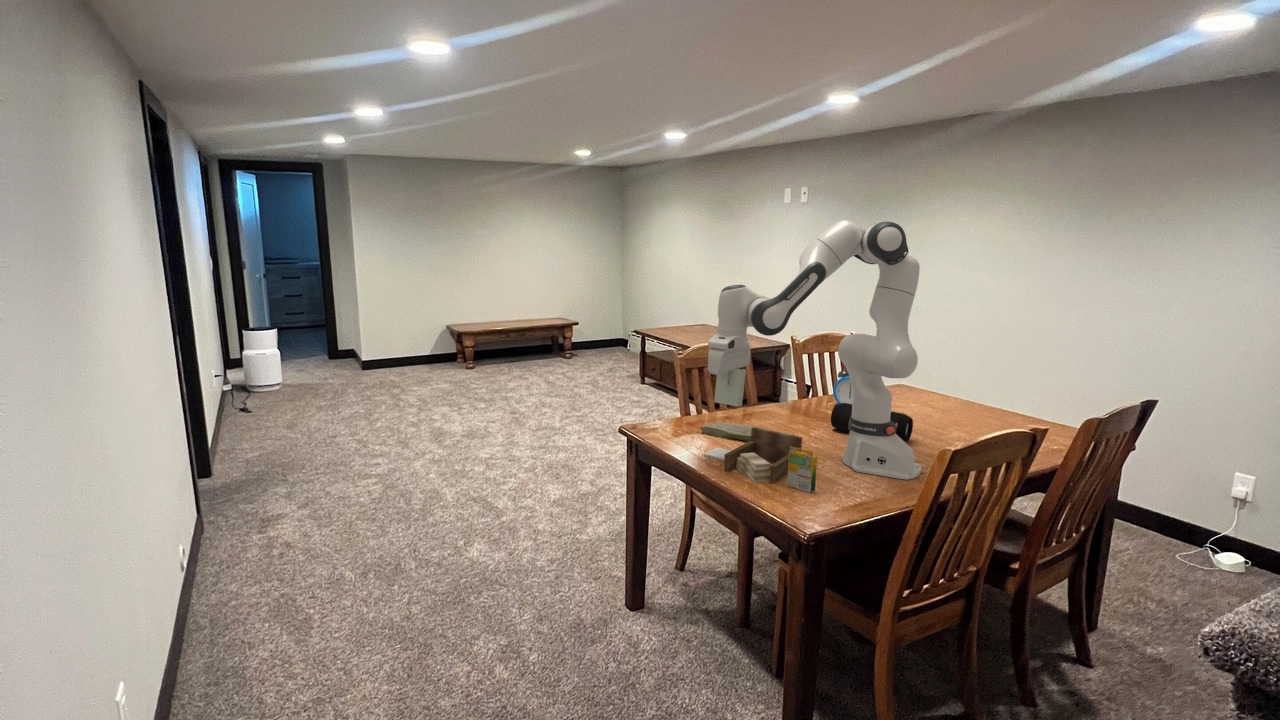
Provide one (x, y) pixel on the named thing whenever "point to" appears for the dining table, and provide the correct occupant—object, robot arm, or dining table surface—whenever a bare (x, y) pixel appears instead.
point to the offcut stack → (753, 467)
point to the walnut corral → (766, 451)
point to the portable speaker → (903, 421)
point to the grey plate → (717, 453)
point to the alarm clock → (843, 388)
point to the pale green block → (731, 388)
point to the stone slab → (730, 430)
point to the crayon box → (802, 469)
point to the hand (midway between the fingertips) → (729, 384)
